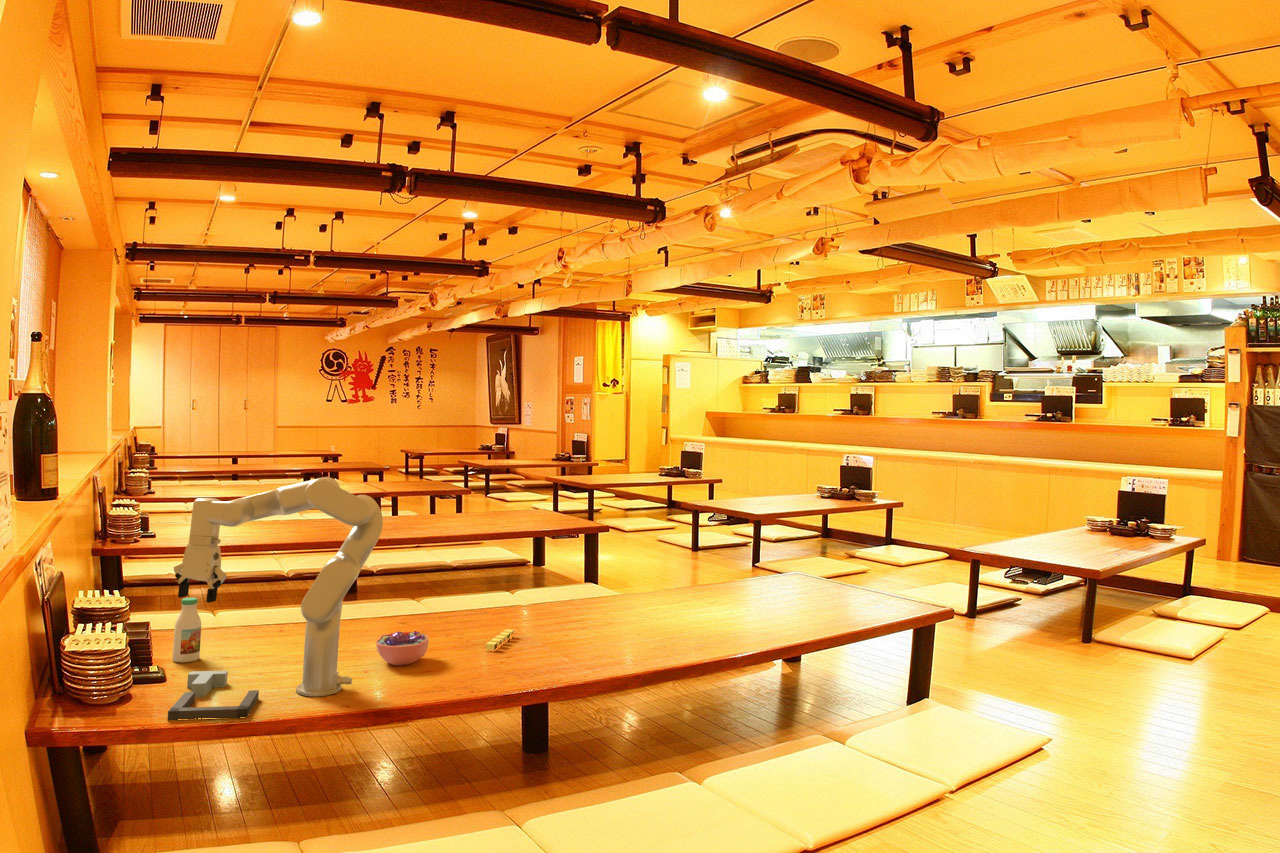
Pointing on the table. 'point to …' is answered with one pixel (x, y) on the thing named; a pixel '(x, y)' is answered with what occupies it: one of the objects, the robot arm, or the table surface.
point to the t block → (206, 681)
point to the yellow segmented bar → (499, 639)
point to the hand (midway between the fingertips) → (196, 599)
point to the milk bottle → (187, 633)
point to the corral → (211, 708)
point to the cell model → (402, 647)
